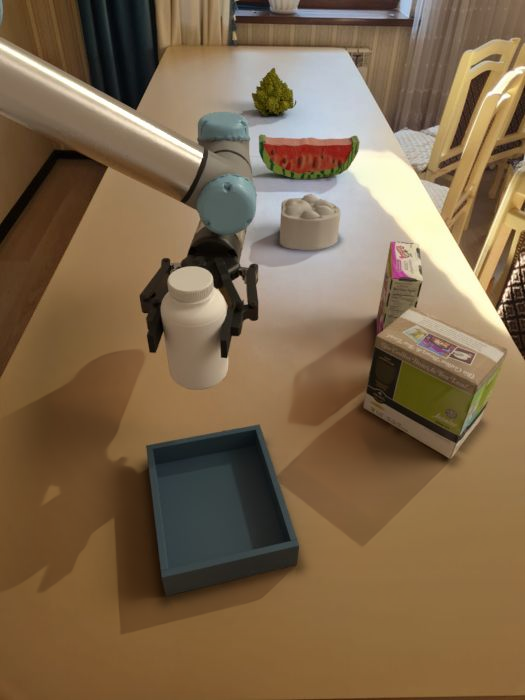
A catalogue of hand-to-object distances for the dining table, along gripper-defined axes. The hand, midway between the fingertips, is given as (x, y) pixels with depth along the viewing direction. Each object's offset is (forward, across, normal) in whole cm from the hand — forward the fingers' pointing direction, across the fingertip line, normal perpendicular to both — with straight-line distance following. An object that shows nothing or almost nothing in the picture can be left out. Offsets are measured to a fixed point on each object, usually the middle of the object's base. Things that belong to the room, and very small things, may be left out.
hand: (187, 346), depth 63 cm
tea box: (-10, -32, -20) cm, 40 cm away
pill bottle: (-5, 0, -9) cm, 10 cm away
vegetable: (-147, +1, -20) cm, 148 cm away
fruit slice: (-97, -12, -20) cm, 99 cm away
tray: (+9, -4, -20) cm, 22 cm away
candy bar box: (-28, -29, -20) cm, 45 cm away
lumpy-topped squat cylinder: (-62, -14, -20) cm, 67 cm away
